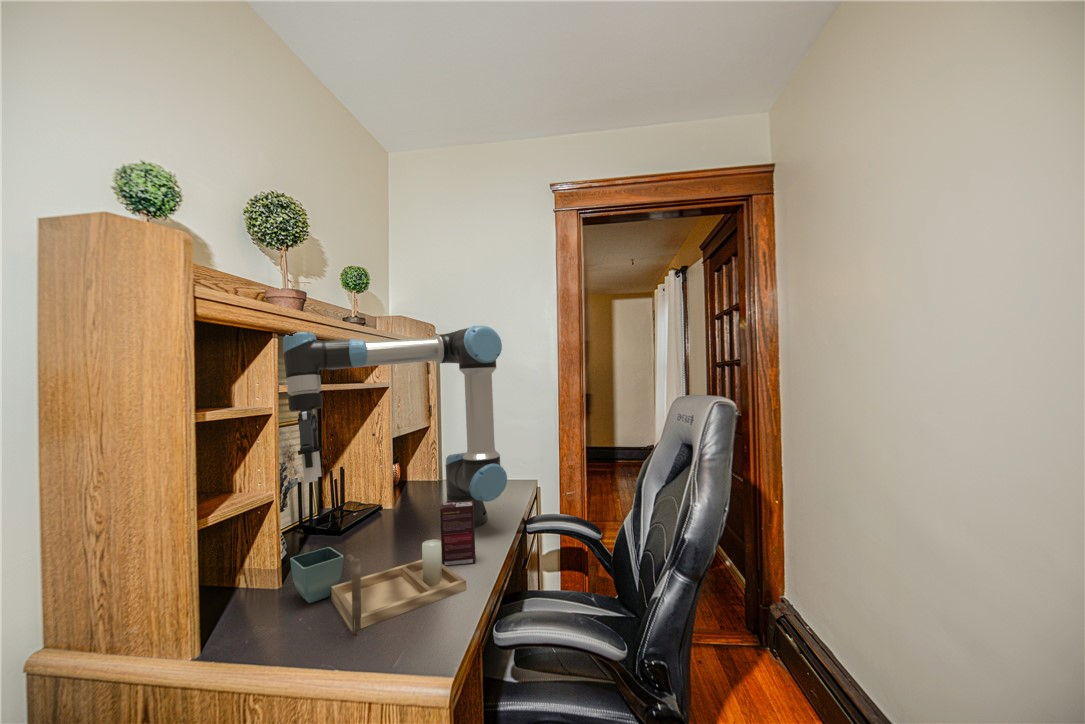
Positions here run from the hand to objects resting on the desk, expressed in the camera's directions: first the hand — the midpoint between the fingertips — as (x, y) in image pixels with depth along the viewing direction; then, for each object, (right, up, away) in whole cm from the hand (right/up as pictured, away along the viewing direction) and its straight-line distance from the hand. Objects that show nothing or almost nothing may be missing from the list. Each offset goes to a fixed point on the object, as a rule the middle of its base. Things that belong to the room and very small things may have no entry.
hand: (313, 479), depth 109 cm
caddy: (+24, -24, -10) cm, 35 cm away
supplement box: (+34, -24, +6) cm, 43 cm away
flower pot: (+5, -25, -8) cm, 26 cm away
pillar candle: (+30, -23, -5) cm, 38 cm away
